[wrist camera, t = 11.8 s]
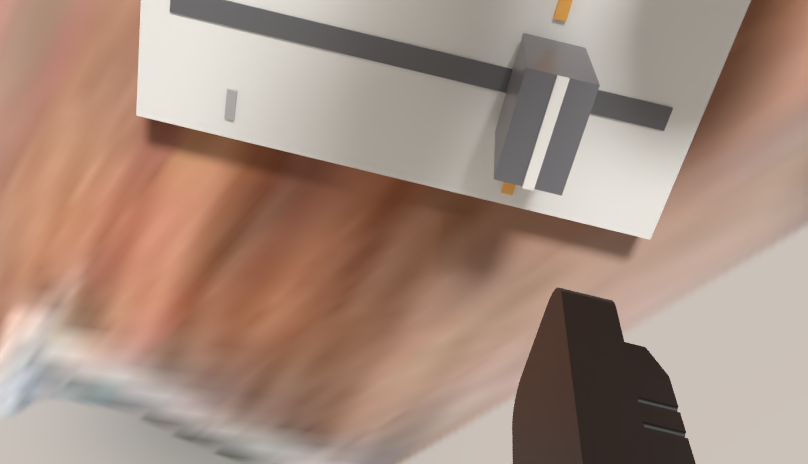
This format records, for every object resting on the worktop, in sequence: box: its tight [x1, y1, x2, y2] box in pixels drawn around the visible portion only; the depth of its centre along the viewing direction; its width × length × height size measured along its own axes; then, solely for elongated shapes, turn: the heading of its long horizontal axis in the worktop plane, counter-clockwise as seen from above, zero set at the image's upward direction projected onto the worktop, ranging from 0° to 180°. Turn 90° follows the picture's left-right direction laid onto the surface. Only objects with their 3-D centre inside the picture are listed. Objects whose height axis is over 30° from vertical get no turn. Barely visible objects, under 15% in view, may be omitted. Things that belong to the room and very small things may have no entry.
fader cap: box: [494, 33, 600, 196], centre depth 34 cm, size 5×3×6 cm, turn 168°
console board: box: [136, 0, 751, 239], centre depth 38 cm, size 13×28×2 cm, turn 78°
